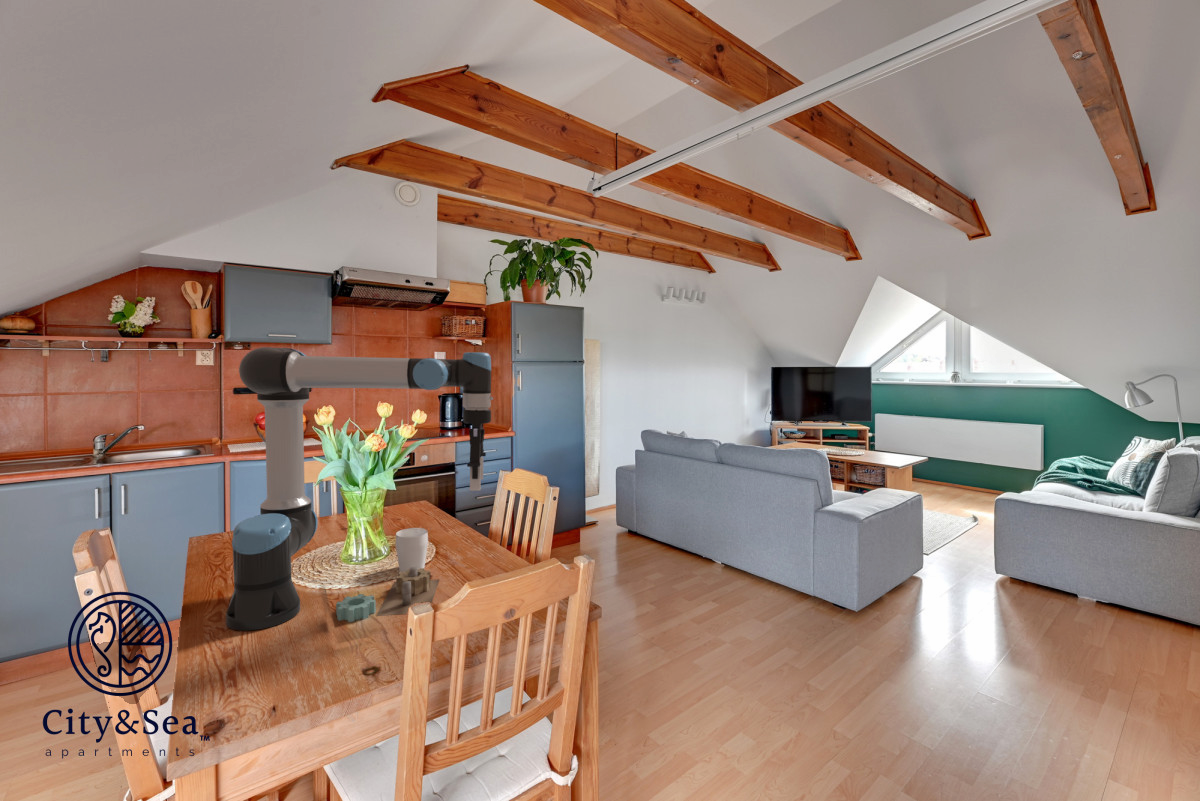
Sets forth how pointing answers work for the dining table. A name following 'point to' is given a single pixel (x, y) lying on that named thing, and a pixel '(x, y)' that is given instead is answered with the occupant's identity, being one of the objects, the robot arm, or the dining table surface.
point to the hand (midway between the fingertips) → (476, 484)
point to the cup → (411, 548)
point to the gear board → (398, 599)
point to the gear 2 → (414, 581)
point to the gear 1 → (355, 608)
